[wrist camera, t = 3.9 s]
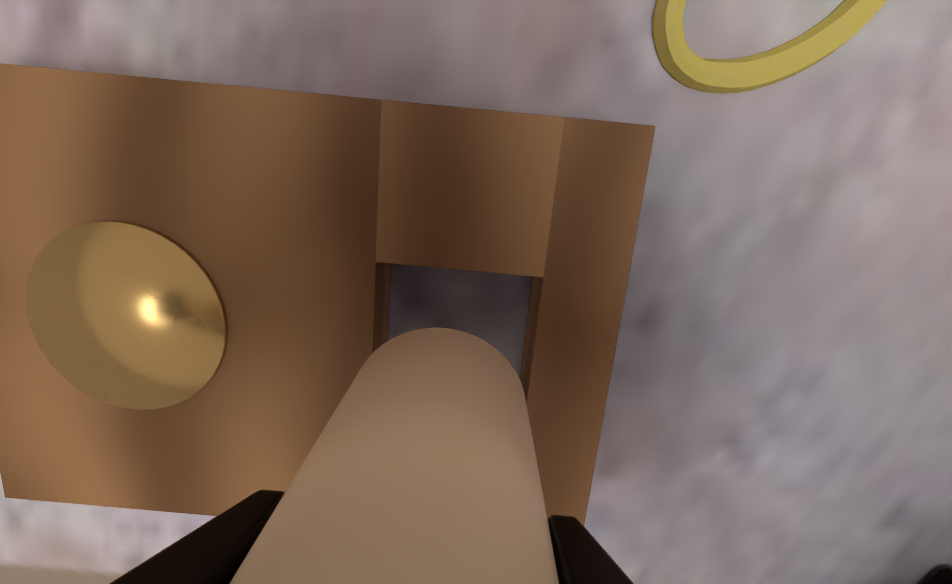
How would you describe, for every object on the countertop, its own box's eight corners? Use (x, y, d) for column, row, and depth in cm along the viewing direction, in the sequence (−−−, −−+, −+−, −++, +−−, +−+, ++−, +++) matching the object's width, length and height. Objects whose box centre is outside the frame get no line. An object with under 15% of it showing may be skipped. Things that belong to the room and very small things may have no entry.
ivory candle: (560, 382, 10) (776, 984, 3) (470, 512, 11) (442, 1240, 4) (402, 294, 10) (126, 724, 2) (321, 437, 11) (-68, 1089, 3)
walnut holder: (628, 132, 15) (655, 125, 13) (567, 499, 19) (579, 547, 16) (9, 73, 15) (-81, 56, 13) (67, 454, 19) (5, 497, 16)
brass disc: (258, 285, 14) (255, 286, 14) (186, 436, 16) (182, 440, 15) (65, 182, 13) (59, 182, 13) (8, 350, 15) (2, 353, 15)
